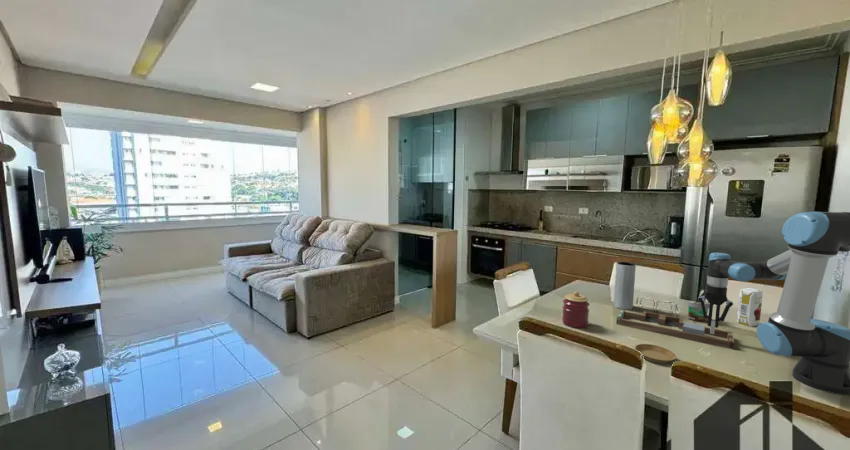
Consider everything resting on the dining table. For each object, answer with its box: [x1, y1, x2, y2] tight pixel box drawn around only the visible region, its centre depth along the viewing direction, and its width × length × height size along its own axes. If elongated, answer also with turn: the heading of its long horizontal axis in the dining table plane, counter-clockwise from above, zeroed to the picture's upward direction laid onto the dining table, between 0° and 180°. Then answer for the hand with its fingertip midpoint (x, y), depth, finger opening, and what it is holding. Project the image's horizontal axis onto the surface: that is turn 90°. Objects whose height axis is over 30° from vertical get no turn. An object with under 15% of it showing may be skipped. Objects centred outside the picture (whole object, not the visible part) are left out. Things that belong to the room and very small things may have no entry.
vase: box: [613, 261, 637, 311], centre depth 209 cm, size 10×10×27 cm
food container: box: [687, 300, 710, 323], centre depth 188 cm, size 12×6×10 cm, turn 105°
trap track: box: [615, 309, 735, 350], centre depth 178 cm, size 22×47×4 cm, turn 52°
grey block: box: [682, 321, 706, 336], centre depth 169 cm, size 8×8×5 cm
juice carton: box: [736, 287, 763, 327], centre depth 184 cm, size 8×9×19 cm
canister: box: [561, 291, 590, 329], centre depth 183 cm, size 13×13×18 cm
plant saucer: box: [634, 343, 677, 364], centre depth 148 cm, size 15×15×3 cm
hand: (712, 333), depth 165 cm, fingers closed
